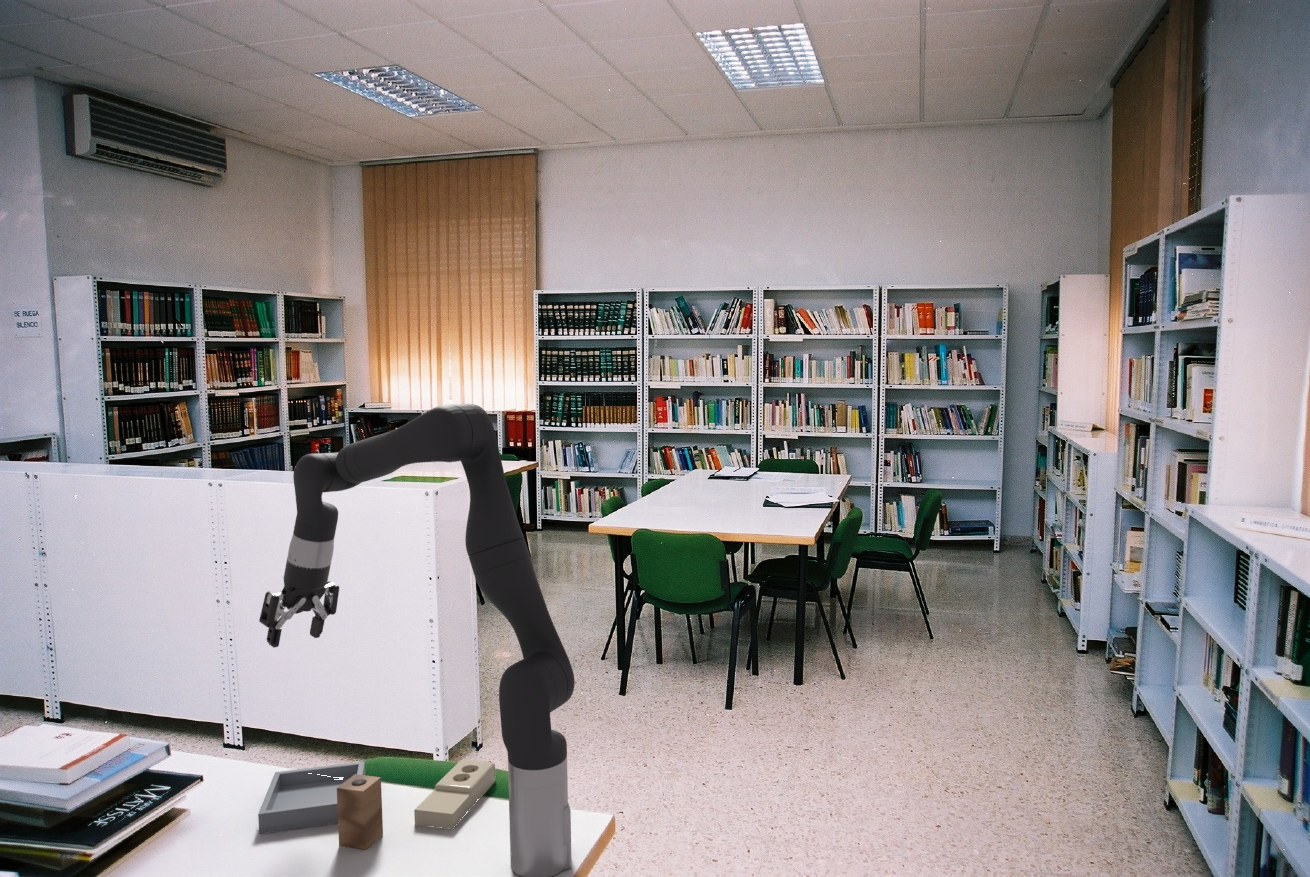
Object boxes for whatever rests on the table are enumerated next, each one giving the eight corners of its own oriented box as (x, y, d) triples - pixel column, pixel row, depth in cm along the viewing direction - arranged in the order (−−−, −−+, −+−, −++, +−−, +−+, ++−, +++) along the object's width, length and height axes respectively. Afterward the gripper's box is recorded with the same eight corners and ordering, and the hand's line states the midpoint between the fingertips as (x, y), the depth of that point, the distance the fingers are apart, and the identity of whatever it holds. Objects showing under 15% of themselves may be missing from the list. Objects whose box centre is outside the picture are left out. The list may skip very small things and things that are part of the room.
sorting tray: (365, 778, 162) (364, 761, 162) (358, 820, 147) (357, 800, 147) (275, 790, 158) (275, 772, 158) (259, 833, 143) (258, 814, 143)
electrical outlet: (414, 804, 145) (460, 758, 162) (414, 827, 145) (461, 779, 163) (452, 808, 143) (495, 761, 161) (453, 831, 144) (495, 782, 161)
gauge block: (383, 834, 142) (380, 776, 142) (365, 850, 137) (363, 791, 137) (357, 830, 144) (355, 773, 143) (339, 846, 139) (336, 787, 138)
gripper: (286, 571, 145) (270, 657, 147) (355, 561, 157) (339, 641, 160) (261, 556, 149) (246, 640, 151) (330, 547, 161) (315, 625, 163)
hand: (294, 640), depth 155 cm, fingers open, 8 cm apart
